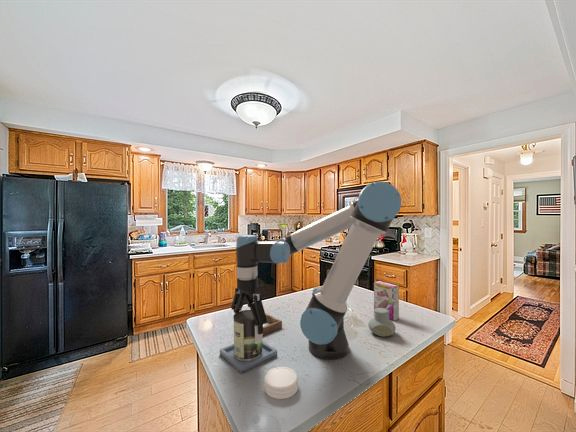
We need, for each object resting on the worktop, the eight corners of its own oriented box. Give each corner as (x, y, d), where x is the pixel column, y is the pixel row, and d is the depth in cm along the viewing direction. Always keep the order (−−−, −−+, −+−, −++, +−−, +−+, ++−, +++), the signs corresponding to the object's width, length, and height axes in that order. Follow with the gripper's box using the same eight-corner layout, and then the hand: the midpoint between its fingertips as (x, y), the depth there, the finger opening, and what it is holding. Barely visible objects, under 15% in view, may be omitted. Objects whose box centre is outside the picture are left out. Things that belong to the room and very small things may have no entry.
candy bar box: (373, 314, 126) (373, 282, 126) (379, 311, 129) (379, 280, 129) (393, 321, 117) (393, 287, 117) (399, 319, 120) (399, 285, 120)
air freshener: (368, 336, 104) (368, 312, 104) (368, 327, 112) (368, 305, 111) (396, 339, 100) (396, 315, 100) (394, 330, 108) (394, 307, 108)
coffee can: (265, 347, 94) (265, 310, 94) (257, 362, 84) (256, 321, 84) (240, 344, 96) (239, 308, 96) (229, 359, 86) (228, 319, 86)
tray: (277, 355, 90) (277, 350, 90) (241, 373, 80) (241, 367, 80) (253, 340, 101) (253, 335, 101) (219, 354, 91) (219, 349, 91)
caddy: (282, 327, 112) (282, 321, 112) (254, 338, 102) (254, 331, 102) (262, 317, 124) (262, 311, 124) (236, 327, 114) (236, 320, 114)
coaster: (260, 398, 69) (260, 386, 69) (268, 375, 79) (268, 364, 79) (296, 402, 68) (295, 389, 68) (300, 378, 78) (299, 367, 78)
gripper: (276, 282, 84) (277, 344, 84) (238, 270, 102) (239, 321, 102) (258, 286, 79) (259, 353, 79) (221, 273, 97) (222, 327, 97)
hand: (248, 335), depth 90 cm, fingers open, 13 cm apart
